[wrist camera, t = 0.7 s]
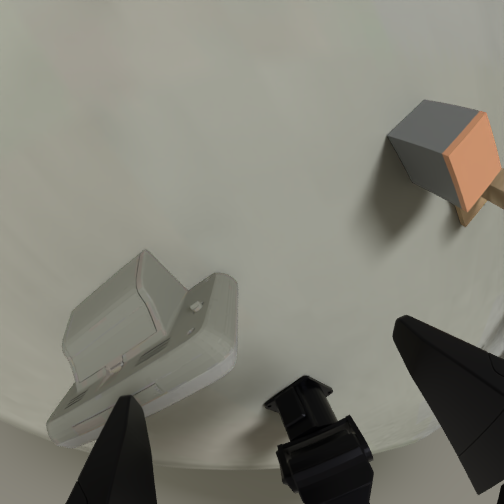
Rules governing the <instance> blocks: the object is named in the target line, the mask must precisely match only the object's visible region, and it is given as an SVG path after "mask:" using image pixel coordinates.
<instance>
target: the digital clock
mask: <svg viewBox="0 0 504 504" xmlns="http://www.w3.org/2000/svg"><path fill="white" fill-rule="evenodd" d="M153 321H154V322H153ZM237 343H238V283H237V282H236V280H235V279H234V278H232V277H231V276H229V275H227V274H224V273H214V274H212V275H210V276H209V277H207V278H206V279H204V280H203V281H201V282H200V283H199V284H197V285H196V286H194V287H193V288H191V289H190V290H187V289H186V288H185V287H184V286H183V285H182V284H181V283H180V282H179V281H178V280H177V279H176V278H175V277H174V276H173V275H172V274H171V273H170V272H169V271H168V270H167V269H166V268H165V267H164V266H163V265H162V264H161V263H160V262H159V261H158V260H157V259H156V258H155V257H154V256H153V255H152V254H151V253H150V252H149V251H148V250H144V251H142V252H141V253H140V254H139V255H137V256H136V257H135V258H134V259H132V260H131V261H130V262H129V263H128V264H126V265H125V266H124V267H123V268H122V269H120V270H119V271H118V272H117V273H116V274H114V275H113V276H112V277H111V278H110V279H108V280H107V281H106V282H105V283H104V284H103V285H101V286H100V287H99V288H98V289H97V290H96V291H94V292H93V293H92V294H91V295H90V296H89V297H87V298H86V299H85V300H84V301H83V302H82V303H81V304H80V305H78V306H77V307H76V308H75V309H74V310H73V311H72V313H71V316H70V319H69V322H68V325H67V328H66V331H65V334H64V337H63V342H62V351H63V353H64V355H65V357H66V358H67V359H68V361H69V363H70V365H71V368H72V372H73V375H74V379H75V383H74V384H73V386H72V387H71V388H70V390H69V391H68V392H67V394H66V395H65V397H64V398H63V399H62V401H61V402H60V404H59V405H58V406H57V408H56V409H55V411H54V412H53V413H52V415H51V416H50V418H49V419H48V421H47V423H46V427H47V432H48V435H49V437H50V439H51V440H52V441H53V442H54V443H55V444H56V445H57V446H62V447H67V448H76V447H78V446H81V445H84V444H86V443H89V442H91V441H94V440H96V439H98V437H99V435H100V433H101V431H102V429H103V427H104V425H105V423H106V421H107V419H108V417H109V415H110V413H111V411H112V409H113V407H114V406H115V404H116V402H117V400H118V398H119V397H120V396H122V395H129V394H131V395H133V396H134V398H135V399H136V400H137V402H138V403H139V404H140V405H141V407H142V408H143V411H144V415H145V418H146V417H148V416H150V415H152V414H154V413H156V412H158V411H160V410H162V409H164V408H166V407H168V406H170V405H172V404H174V403H176V402H178V401H180V400H182V399H184V398H186V397H188V396H190V395H191V394H193V393H195V392H197V391H199V390H201V389H203V388H204V387H206V386H208V385H210V384H211V383H213V382H215V381H217V380H218V379H220V378H221V377H223V376H225V375H226V374H227V373H229V372H230V371H231V370H232V369H233V367H234V365H235V363H236V359H237Z"/></svg>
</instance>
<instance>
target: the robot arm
mask: <svg viewBox="0 0 504 504" xmlns="http://www.w3.org/2000/svg"><path fill="white" fill-rule="evenodd" d="M393 340H394V343H395V345H396V347H397V349H398V351H399V353H400V355H401V357H402V359H403V361H404V363H405V365H406V367H407V369H408V371H409V373H410V375H411V377H412V378H413V380H414V382H415V383H416V385H417V386H418V388H419V390H420V391H421V393H422V395H423V396H424V398H425V400H426V401H427V403H428V405H429V406H430V408H431V410H432V411H433V413H434V415H435V417H436V418H437V420H438V422H439V423H440V425H441V427H442V428H443V430H444V432H445V434H446V436H447V437H448V439H449V441H450V443H451V444H452V446H453V448H454V450H455V452H456V454H457V456H459V457H458V458H459V460H460V462H461V463H462V465H463V467H464V469H465V471H466V473H467V475H468V477H469V479H470V480H471V483H472V485H473V487H474V489H475V491H476V492H477V494H478V495H480V494H481V493H483V492H485V491H486V490H488V489H490V488H491V487H493V486H495V485H496V484H498V483H499V482H501V481H503V480H504V359H502V358H500V357H497V356H495V355H493V354H491V353H488V352H486V351H484V350H482V349H480V348H478V347H476V346H474V345H471V344H469V343H467V342H465V341H463V340H461V339H459V338H456V337H454V336H452V335H450V334H448V333H446V332H443V331H441V330H439V329H437V328H435V327H433V326H430V325H428V324H426V323H424V322H422V321H420V320H417V319H415V318H413V317H411V316H409V315H404V316H402V317H399V318H397V320H396V322H395V326H394V330H393ZM332 392H333V390H332V388H331V387H329V386H327V385H325V384H323V383H321V382H319V381H317V380H315V379H313V378H311V377H309V376H304V377H302V378H301V379H299V380H298V381H297V382H295V383H294V384H292V385H291V386H290V387H288V388H287V389H285V390H284V391H282V392H281V393H280V394H278V395H277V396H275V397H274V398H272V399H271V400H269V401H268V402H266V403H265V407H266V408H267V409H270V410H272V411H275V412H278V413H279V414H280V416H281V419H282V422H283V424H284V427H285V429H286V431H287V434H288V437H289V439H290V442H288V443H285V444H280V445H278V446H277V447H278V451H277V452H276V455H277V458H278V460H279V464H280V470H281V476H282V482H283V484H286V485H288V486H289V487H290V488H291V489H292V491H293V492H294V493H298V492H299V494H300V497H301V499H302V501H303V503H305V504H370V503H369V499H370V493H371V488H372V481H373V475H374V472H373V470H372V468H371V465H370V463H369V462H371V461H372V460H373V456H372V453H371V451H370V448H369V446H368V444H367V442H366V440H365V439H364V437H363V435H362V434H361V432H360V430H359V429H358V427H357V425H356V424H355V422H354V421H353V419H352V417H351V416H350V415H348V416H346V418H344V419H341V420H339V421H337V418H336V416H335V414H334V412H333V410H332V408H331V406H330V404H329V402H328V400H327V398H326V397H327V396H329V395H330V394H331V393H332ZM65 504H157V500H156V491H155V483H154V475H153V464H152V454H151V448H150V443H149V438H148V432H147V427H146V421H145V415H144V411H143V408H142V407H141V405H140V404H139V403H138V402H137V400H136V399H135V398H134V396H133V395H131V394H129V395H122V396H120V397H119V398H118V400H117V402H116V404H115V406H114V407H113V409H112V411H111V413H110V415H109V417H108V419H107V421H106V423H105V425H104V427H103V429H102V431H101V433H100V435H99V437H98V439H97V441H96V443H95V445H94V447H93V449H92V451H91V453H90V455H89V457H88V459H87V461H86V463H85V465H84V467H83V469H82V471H81V473H80V475H79V477H78V481H77V482H76V484H75V486H74V488H73V490H72V492H71V494H70V496H69V498H68V500H67V502H66V503H65ZM497 504H504V484H503V485H502V486H501V489H500V493H499V498H498V502H497Z"/></svg>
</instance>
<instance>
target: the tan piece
mask: <svg viewBox="0 0 504 504" xmlns="http://www.w3.org/2000/svg"><path fill="white" fill-rule="evenodd" d="M487 200H488V201H490V202H492V203H493V204H495V205H497V206H499V207H500V208H502V209H504V169H503V168H501V170H500V172H499V173H498V174H497V176H496V177H495V178H494V180H493V181H492V182H491V184H490V185H489V186H488V188H487V189H486V190H485V191H484V193H483V194H482V195H481V196H480V198H479V199H478V200H477V201H476V203H475V204H474V205H473V206H472V208H471V209H470V210H469V211H468V212H466V211H464V210H463V209H461V208H459V207H457V206H456V205H455V208H456V211H457V214H458V217H459V220H460V223H461V224H462V225H463V226H465V227H466V226H467V225H468V224H469V222H470V221H471V220H472V219H473V218H474V216H475V215H476V214H477V213H478V212H479V210H480V209H481V208H482V207H483V205H484V204H485V203H486V201H487Z"/></svg>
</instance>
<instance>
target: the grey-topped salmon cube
mask: <svg viewBox="0 0 504 504" xmlns="http://www.w3.org/2000/svg"><path fill="white" fill-rule="evenodd" d="M387 137H388V138H389V140H390V142H391V144H392V145H393V147H394V149H395V151H396V152H397V154H398V156H399V158H400V160H401V162H402V163H403V165H404V167H405V169H406V171H407V173H408V175H409V177H410V179H411V181H412V183H414V184H416V185H418V186H420V187H422V188H424V189H426V190H428V191H430V192H432V193H434V194H436V195H438V196H439V197H441V198H443V199H445V200H447V201H449V202H450V203H452V204H454V205H456V206H457V207H459V208H461V209H463V210H464V211H466V212H468V211H469V210H470V209H471V208H472V206H473V205H474V204H475V203H476V201H477V200H478V199H479V198H480V196H481V195H482V194H483V193H484V191H485V190H486V189H487V188H488V186H489V185H490V184H491V182H492V181H493V180H494V178H495V177H496V176H497V174H498V173H499V172H500V170H501V165H500V160H499V156H498V152H497V148H496V144H495V140H494V137H493V133H492V130H491V126H490V123H489V120H488V117H487V114H486V112H482V111H478V110H474V109H470V108H465V107H461V106H456V105H451V104H446V103H441V102H435V101H430V100H423V101H422V102H421V103H420V104H419V105H418V106H417V107H416V108H415V109H414V110H413V111H412V112H411V113H410V114H409V115H408V116H407V117H406V118H404V119H403V120H402V121H401V122H400V123H399V124H398V125H397V126H396V127H395V128H394V129H393V130H392V131H391V132H390V133H389V134H388V135H387Z"/></svg>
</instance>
